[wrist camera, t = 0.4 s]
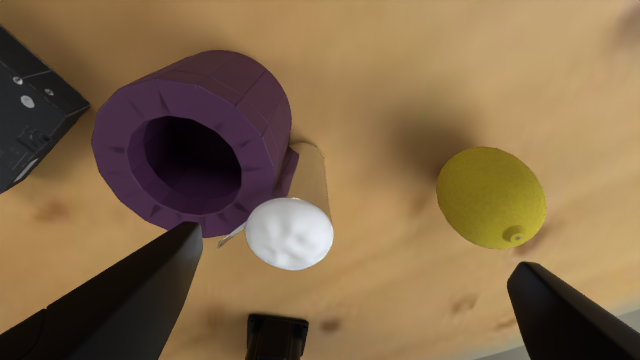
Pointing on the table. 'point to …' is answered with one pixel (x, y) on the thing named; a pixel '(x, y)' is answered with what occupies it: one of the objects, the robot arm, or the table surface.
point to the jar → (195, 141)
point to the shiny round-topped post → (292, 214)
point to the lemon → (491, 198)
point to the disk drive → (30, 110)
